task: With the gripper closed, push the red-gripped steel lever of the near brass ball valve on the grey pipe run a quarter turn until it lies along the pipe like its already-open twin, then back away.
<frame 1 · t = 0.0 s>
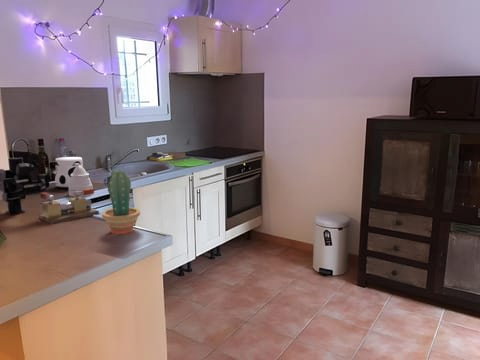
hand: (34, 186, 167), 17 cm above the countertop, tool horizontal, fingers open, 9 cm apart
beige flat board: (69, 215, 183), on the countertop
milk container: (70, 187, 245), on the countertop
valve lever: (47, 196, 177), point 10 cm above the countertop, hinge at 0.0°
pipe manifold: (70, 202, 182), on the beige flat board, point 6 cm above the countertop
honey pot: (81, 194, 226), on the countertop
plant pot: (121, 215, 185), on the countertop
potted cactus: (122, 230, 163), on the countertop
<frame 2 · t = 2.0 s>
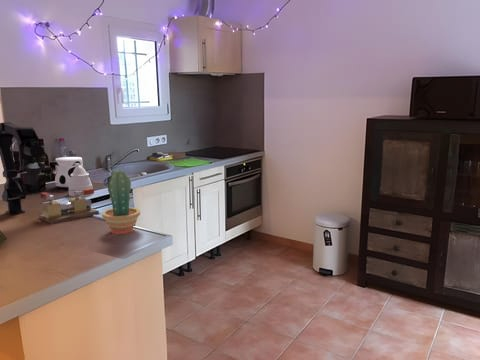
hand: (29, 191, 174), 13 cm above the countertop, tool pointing down, fingers open, 6 cm apart
nothing on the countertop moved.
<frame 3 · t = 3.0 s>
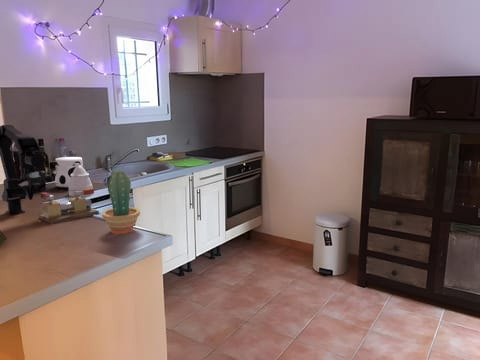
hand: (30, 199, 175), 9 cm above the countertop, tool pointing down, fingers closed
nothing on the countertop moved.
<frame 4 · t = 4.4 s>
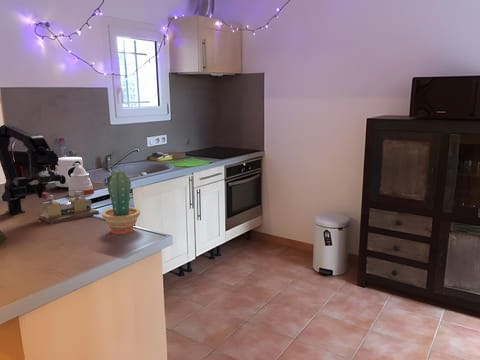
hand: (39, 198, 178), 9 cm above the countertop, tool pointing down, fingers closed
valve lever: (47, 196, 177), point 10 cm above the countertop, hinge at 0.7°, touching gripper
everything else where it was.
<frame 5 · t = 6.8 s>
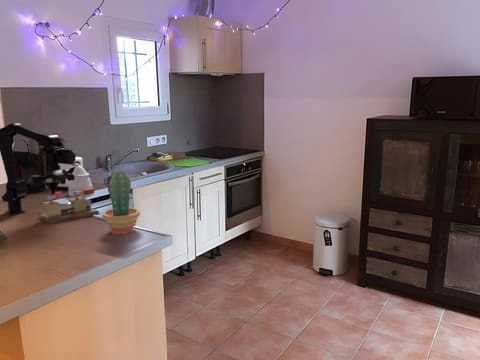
hand: (52, 196, 181), 9 cm above the countertop, tool pointing down, fingers closed
valve lever: (54, 196, 178), point 10 cm above the countertop, hinge at 52.5°, touching gripper
everything else where it was.
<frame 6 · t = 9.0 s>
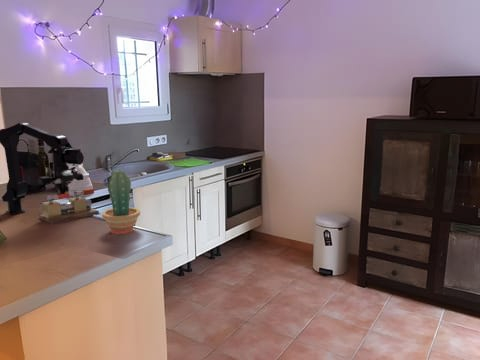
hand: (62, 196, 181), 9 cm above the countertop, tool pointing down, fingers closed, pressing on valve lever
valve lever: (58, 196, 177), point 10 cm above the countertop, hinge at 89.9°, touching gripper
everything else where it was.
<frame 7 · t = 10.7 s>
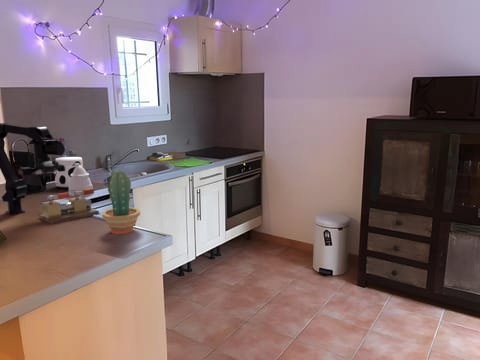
hand: (43, 187, 182), 13 cm above the countertop, tool pointing down, fingers closed
valve lever: (58, 196, 177), point 10 cm above the countertop, hinge at 90.4°
everything else where it was.
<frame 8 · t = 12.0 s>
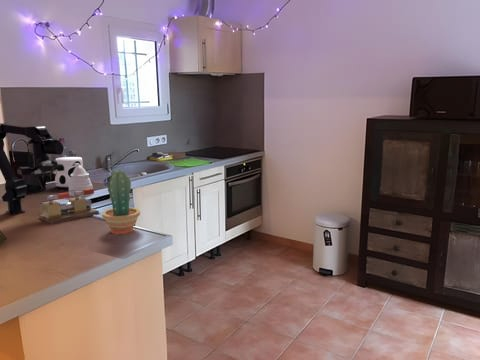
hand: (43, 187, 181), 13 cm above the countertop, tool pointing down, fingers closed
nothing on the countertop moved.
at the end: valve lever at +90° (first picture: +0°); the gripper is holding nothing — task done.
